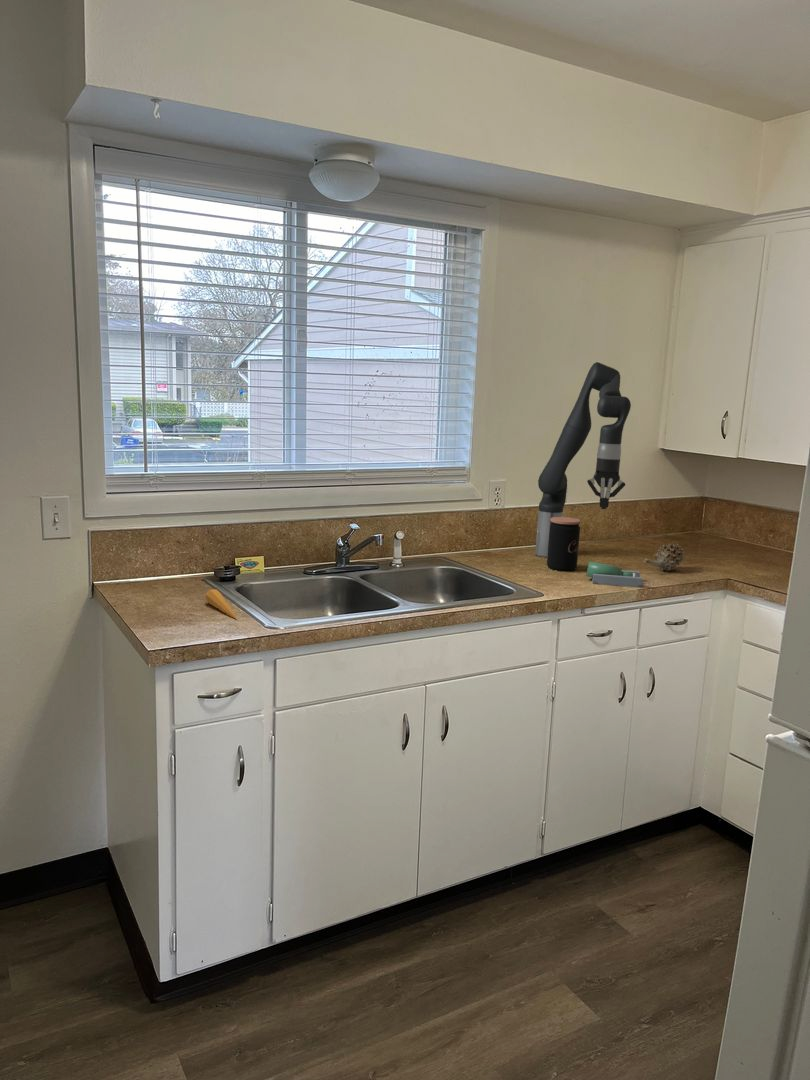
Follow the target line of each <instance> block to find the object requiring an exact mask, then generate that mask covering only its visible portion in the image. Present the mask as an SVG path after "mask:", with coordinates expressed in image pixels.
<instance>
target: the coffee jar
mask: <svg viewBox="0 0 810 1080" xmlns="http://www.w3.org/2000/svg"><path fill="white" fill-rule="evenodd" d="M550 521H551V524H550V529H549V542H548V555H547V557H546V565H547V568H548V569H549V568H550V569H549V570H551V569H552V570H551V571H555V570H557V571H556V572H561V571H570V572H573V570H574V571H576V569H577V568H578V567H577V566H578V558H579V557H578V556H579V547H580V536H581V535H580V533H581V527H580V524H581V519H579V518H575V517H569V516H563V517H552V518H550Z"/></svg>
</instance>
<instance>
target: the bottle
mask: <svg viewBox="0 0 810 1080" xmlns="http://www.w3.org/2000/svg"><path fill="white" fill-rule="evenodd" d="M622 570H623V569H621V568H620V567H619V566H615V565H610V564H605V563H600V562H595V561H589V562H588V564H587V569H586V577H589V578H591V577H593V574H604V575H617V576H630V577H635V576H636V573H628V572H622Z"/></svg>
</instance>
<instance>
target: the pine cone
mask: <svg viewBox="0 0 810 1080" xmlns="http://www.w3.org/2000/svg"><path fill="white" fill-rule="evenodd" d="M659 546H660V548H659V549H657V550H656V551H657V552H655V554H653V560H651V559H650V558H646V557H645V558H644V559H643V563H645V564H649V565H652V566H653V565H654V566H657V567H658V570H659V571H661V572H664V571H666V570H667V571H666V572H668V571H669V572H670V571H671V570H674V569H677V566H680V565H681V564H682V562H683V561H684V559H685V550H684V548H682V545H679V543H676V544H674V543H671V542H670V543H668V542H667V543H666V544H665V543H663V545H659Z"/></svg>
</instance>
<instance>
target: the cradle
mask: <svg viewBox="0 0 810 1080" xmlns="http://www.w3.org/2000/svg"><path fill="white" fill-rule="evenodd" d="M621 570H622V572H628V573H636V576H635V577H630V576H617V575H604V574H593V577H592V578H591V581H593V582H592V584H593V583H598V584H597V585H603V584H606V585H605V586H615V585H618V586H617V587H630V588H641V589H642V588H643V584H644V583H643V582H644V579H643V577H641V572H640V571H638V570H625V569H621Z"/></svg>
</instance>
